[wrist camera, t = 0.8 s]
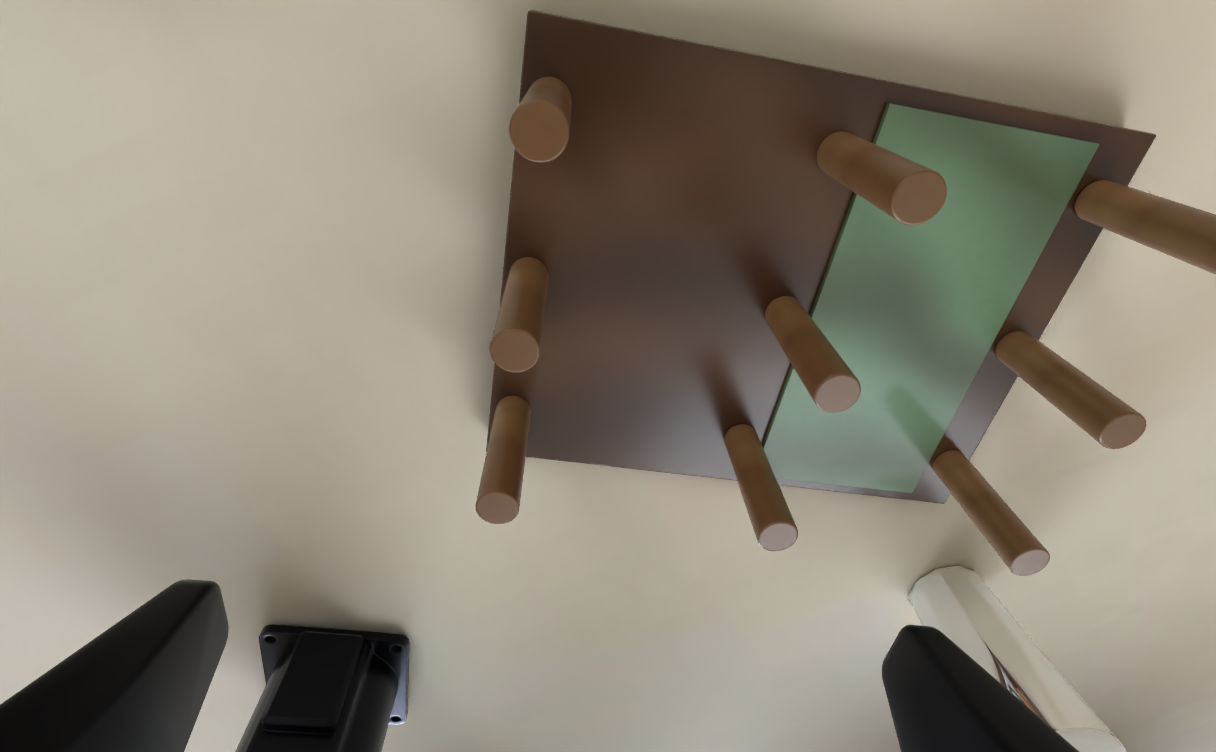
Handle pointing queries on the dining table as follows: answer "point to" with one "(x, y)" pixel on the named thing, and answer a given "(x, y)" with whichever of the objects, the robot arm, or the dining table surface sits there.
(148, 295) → the dining table surface
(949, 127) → the plate rack
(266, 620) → the dining table surface
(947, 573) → the milkshake
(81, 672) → the robot arm
